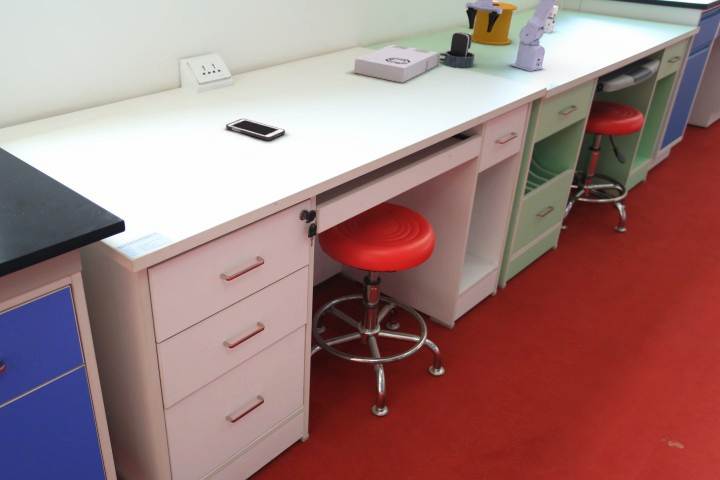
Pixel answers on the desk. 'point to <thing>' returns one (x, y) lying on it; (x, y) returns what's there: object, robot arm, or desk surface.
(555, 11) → the ink box
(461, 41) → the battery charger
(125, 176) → the desk surface
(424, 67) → the power supply unit
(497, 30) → the spool
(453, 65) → the gray segmented ring
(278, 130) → the cell phone
